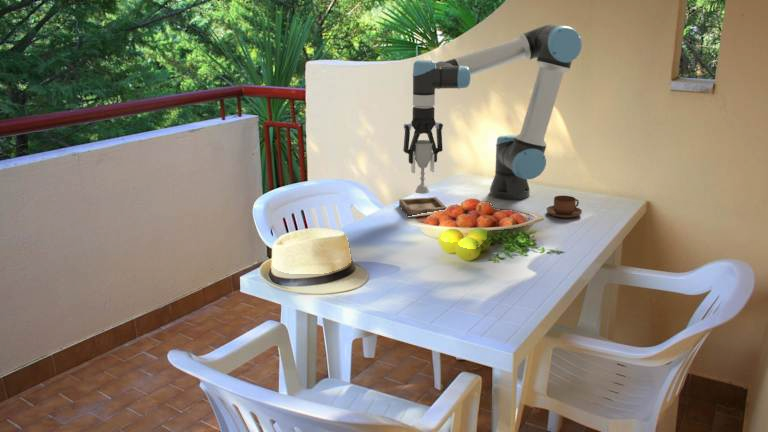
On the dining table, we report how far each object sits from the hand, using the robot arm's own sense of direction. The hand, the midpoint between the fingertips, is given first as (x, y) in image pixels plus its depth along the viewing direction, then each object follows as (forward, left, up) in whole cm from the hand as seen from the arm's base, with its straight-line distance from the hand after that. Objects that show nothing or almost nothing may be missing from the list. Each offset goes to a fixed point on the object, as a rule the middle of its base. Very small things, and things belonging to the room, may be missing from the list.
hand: (422, 171), depth 244 cm
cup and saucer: (-47, +16, -15) cm, 52 cm away
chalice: (0, 0, -8) cm, 8 cm away
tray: (0, 0, -14) cm, 14 cm away
